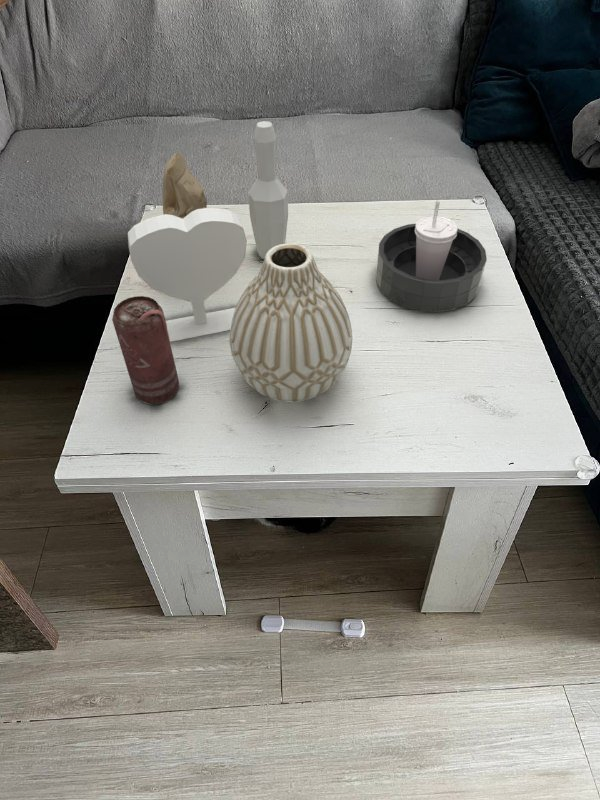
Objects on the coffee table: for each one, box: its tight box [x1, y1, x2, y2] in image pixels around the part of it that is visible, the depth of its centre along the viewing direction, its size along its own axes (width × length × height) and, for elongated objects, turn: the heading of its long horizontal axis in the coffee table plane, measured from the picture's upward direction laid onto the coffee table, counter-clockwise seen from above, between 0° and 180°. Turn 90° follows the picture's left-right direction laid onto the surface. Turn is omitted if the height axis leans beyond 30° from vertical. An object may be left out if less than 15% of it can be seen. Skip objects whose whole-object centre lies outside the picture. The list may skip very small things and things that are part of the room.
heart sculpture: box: [127, 207, 248, 343], centre depth 85 cm, size 16×5×18 cm, turn 107°
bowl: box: [375, 223, 488, 313], centre depth 96 cm, size 17×17×6 cm
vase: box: [229, 242, 353, 403], centre depth 76 cm, size 16×16×20 cm
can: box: [111, 295, 180, 406], centre depth 77 cm, size 6×6×14 cm
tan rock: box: [162, 152, 208, 219], centre depth 93 cm, size 13×7×20 cm, turn 171°
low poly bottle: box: [247, 120, 289, 260], centre depth 97 cm, size 6×6×22 cm
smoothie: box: [415, 199, 458, 280], centre depth 93 cm, size 6×6×14 cm
